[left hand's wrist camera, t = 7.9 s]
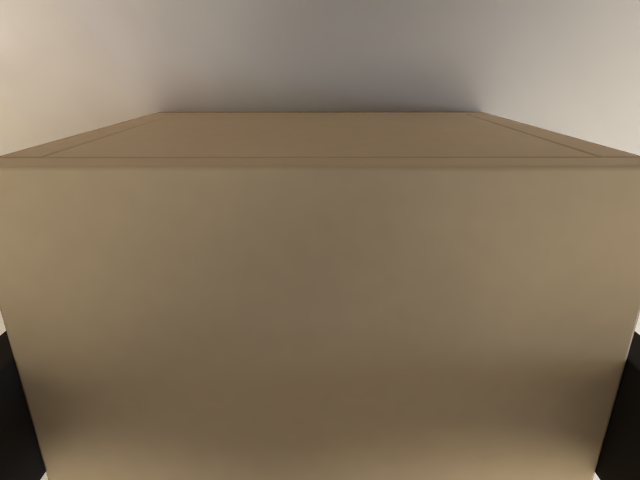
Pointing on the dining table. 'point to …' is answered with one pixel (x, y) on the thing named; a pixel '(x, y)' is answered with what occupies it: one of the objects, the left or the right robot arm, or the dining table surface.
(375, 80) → the dining table surface
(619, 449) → the left robot arm
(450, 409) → the tan cardboard box
